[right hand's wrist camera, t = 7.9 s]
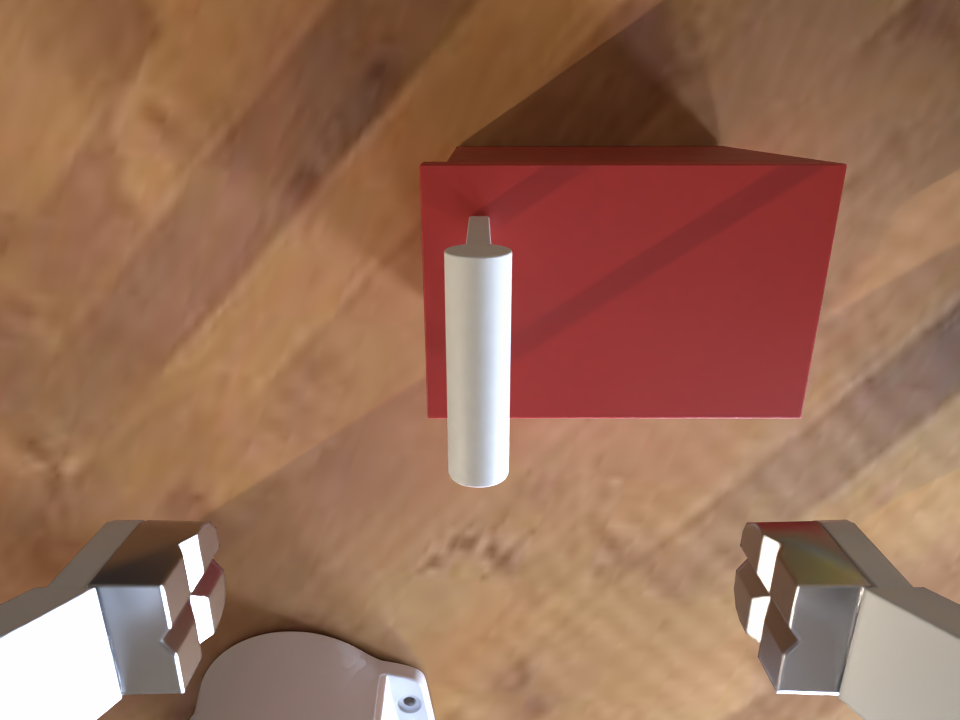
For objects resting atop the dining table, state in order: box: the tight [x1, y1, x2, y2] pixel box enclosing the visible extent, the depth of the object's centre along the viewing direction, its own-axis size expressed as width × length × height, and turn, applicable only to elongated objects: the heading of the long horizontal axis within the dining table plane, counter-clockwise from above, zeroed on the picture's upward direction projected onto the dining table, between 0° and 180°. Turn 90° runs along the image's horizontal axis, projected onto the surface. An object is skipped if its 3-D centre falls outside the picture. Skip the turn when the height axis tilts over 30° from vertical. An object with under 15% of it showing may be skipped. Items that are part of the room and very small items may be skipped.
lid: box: [420, 162, 847, 487], centre depth 21 cm, size 15×10×9 cm, turn 90°
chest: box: [447, 146, 826, 162], centre depth 31 cm, size 14×10×11 cm
